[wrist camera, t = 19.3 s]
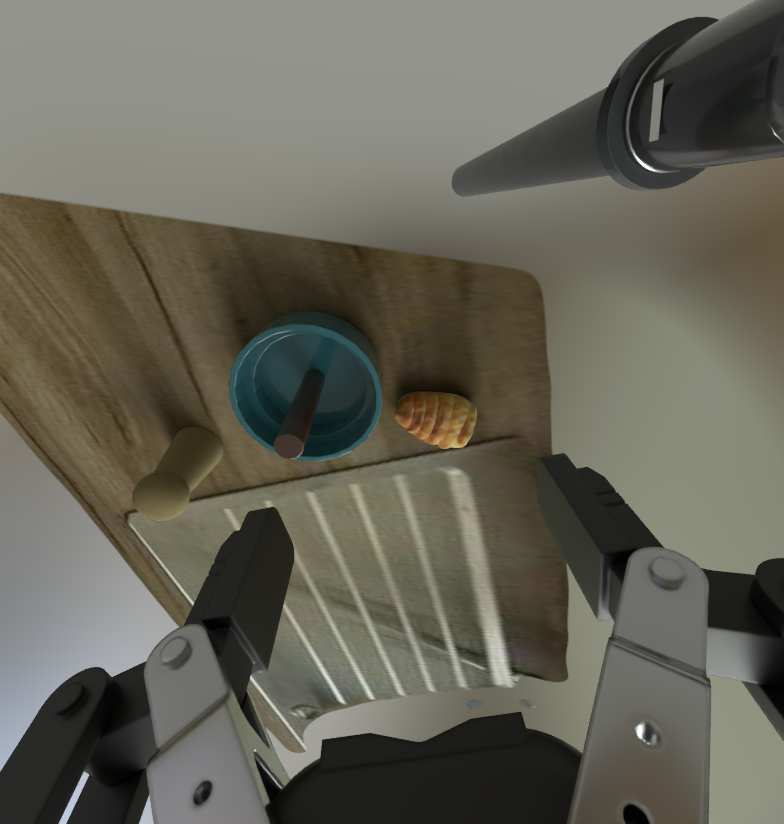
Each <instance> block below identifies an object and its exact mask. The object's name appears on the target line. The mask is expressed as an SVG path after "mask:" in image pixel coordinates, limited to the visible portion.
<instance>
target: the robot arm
mask: <svg viewBox="0 0 784 824" xmlns="http://www.w3.org/2000/svg"><path fill="white" fill-rule="evenodd" d="M623 139H624V143H625V147H626V150H627V152H628V154H629V156H630V158H631V159H632V160H633V162H634V163H635V164H636V165H638V166H639V167H640V168H642V169H643V170H646V171H648V172H651V173H658V174H663V173H672V172H677V171H681V170H686V169H694V168H702V167H710V166H717V165H724V164H732V163H740V162H747V161H755V160H763V159H769V158H778V157H784V0H755V1H753V2H751V3H749V4H747V5H746V6H744V7H742V8H740V9H739V10H737V11H735V12H733V13H731V14H730V15H728V16H726V17H725V18H722V19H721V20H719V21H717V22H715V23H713V24H712V25H709V26H708V27H706V28H704V29H702V30H700V31H699V32H697V33H695V34H693V35H691V36H689V37H686V38H684V39H682V40H680V41H678V42H676V43H674V44H673V45H671V46H669V47H667V48H666V49H664V50H663V51H662V52H660V53H659V54H658V55H657V56H656V57H655V58H654V59H653V60H652V61H651V62H650V63H649V64H648V65H647V66H646V67H645V69H644V70H643V71H642V73H641V74H640V76H639V77H638V79H637V80H636V82H635V84H634V86H633V88H632V90H631V92H630V95H629V97H628V100H627V103H626V107H625V111H624V116H623ZM536 469H537V492H538V503H539V507H540V511H541V514H542V516H543V518H544V520H545V522H546V524H547V526H548V528H549V530H550V532H551V534H552V536H553V537H554V539H555V541H556V543H557V545H558V547H559V549H560V551H561V553H562V554H563V556H564V558H565V560H566V562H567V564H568V566H569V568H570V569H571V571H572V573H573V575H574V577H575V579H576V581H577V583H578V584H579V586H580V588H581V590H582V592H583V594H584V596H585V598H586V600H587V602H588V603H589V605H590V607H591V609H592V611H593V613H594V615H595V616H596V618H597V620H598V621H603V620H609V619H613V620H614V627H613V631H612V635H611V637H609V640H608V643H607V647H606V651H605V655H604V660H603V664H602V669H601V673H600V678H599V682H598V687H597V691H596V696H595V700H594V705H593V709H592V714H591V718H590V722H589V727H588V731H587V736H586V740H585V745H584V750H583V753H581V752H580V751H579V750H577V749H576V748H574V747H573V746H571V745H569V744H568V743H566V742H564V741H562V740H561V739H558V738H556V737H554V736H552V735H550V734H547V733H544V732H541V731H537V730H532V729H527V728H526V727H525V723H524V720H523V717H522V713H521V712H517V713H510V714H502V715H495V716H488V717H480V718H474V719H470V720H468V721H466V722H463V723H461V724H459V725H457V726H455V727H453V728H451V729H449V730H447V731H445V732H443V733H441V734H439V735H437V736H435V737H433V738H430V739H428V740H427V741H423V742H414V741H409V740H403V739H398V738H392V737H387V736H382V735H377V734H372V733H367V734H360V735H353V736H346V737H339V738H331V739H324V740H322V748H321V757H320V759H318V760H316V761H314V762H313V763H311V764H310V765H308V766H307V767H305V768H304V769H303V770H301V771H300V772H299V773H298V774H297V775H295V776H294V777H293V778H292V779H291V780H290V778H289V776H288V774H287V773H286V771H285V769H284V767H283V766H282V764H281V762H280V760H279V758H278V756H277V754H276V752H275V749H274V747H273V745H272V742H271V740H270V738H269V735H268V733H267V731H266V728H265V726H264V724H263V721H262V719H261V716H260V714H259V712H258V709H257V707H256V705H255V702H254V700H253V698H252V695H251V693H250V691H249V689H248V688H247V686H248V683H249V679H250V675H251V674H253V673H259V672H266V671H267V670H268V666H269V662H270V658H271V653H272V649H273V645H274V641H275V637H276V633H277V629H278V625H279V621H280V617H281V612H282V608H283V604H284V600H285V596H286V592H287V588H288V584H289V580H290V575H291V571H292V567H293V563H294V547H293V543H292V540H291V538H290V536H289V534H288V532H287V530H286V527H285V525H284V523H283V521H282V519H281V517H280V515H279V512H278V510H277V509H276V508H275V507H270V508H265V509H260V510H254V511H250V512H248V514H247V515H246V517H245V520H244V522H243V524H242V527H241V529H240V530H238V531H234V532H233V533H232V534H231V535H230V537H229V538H228V539H227V540H226V541H225V542H224V543H223V545H222V546H221V548H220V550H219V552H218V554H217V556H216V558H215V564H213V565H212V567H211V569H210V571H209V576H208V577H207V578H206V580H205V582H204V584H203V586H202V588H201V590H200V593H199V595H198V597H197V599H196V601H195V603H194V605H193V607H192V610H191V612H190V614H189V616H188V618H187V620H186V622H185V624H184V626H182V627H180V628H177V629H176V630H174V631H172V632H171V633H169V634H168V635H167V636H166V637H164V639H162V640H161V641H160V642H159V643H158V644H157V645H156V647H155V648H154V649H153V651H152V652H151V654H150V655H149V658H148V659H147V661H146V662H144V663H142V664H139V665H137V666H135V667H133V668H131V669H129V670H127V671H124V672H122V673H120V674H118V675H116V676H114V677H111V676H110V675H109V674H108V673H107V672H106V671H105V670H104V669H102V668H100V667H93V668H89V669H85V670H83V671H81V672H79V673H77V674H75V675H74V676H72V677H71V678H69V679H68V680H67V681H65V682H64V683H63V684H62V685H60V686H59V687H58V688H57V689H56V690H55V691H54V692H53V693H52V694H51V695H50V697H49V698H48V699H47V700H46V701H45V703H44V704H43V706H42V707H41V709H40V710H39V712H38V713H37V715H36V717H35V718H34V720H33V722H32V723H31V725H30V726H29V728H28V729H27V731H26V732H25V734H24V735H23V737H22V739H21V740H20V742H19V743H18V745H17V747H16V748H15V750H14V751H13V753H12V754H11V756H10V758H9V759H8V761H7V762H6V764H5V765H4V767H3V769H2V770H1V772H0V824H59V821H60V819H61V817H62V815H63V813H64V811H65V809H66V807H67V805H68V802H69V801H70V799H71V796H72V795H73V792H74V790H75V788H76V786H77V784H78V782H79V780H80V778H81V776H82V774H83V772H84V771H85V772H86V773H88V774H89V777H88V779H87V781H86V783H85V786H84V788H83V790H82V792H81V794H80V796H79V798H78V801H77V802H76V805H75V807H74V809H73V811H72V813H71V815H70V817H69V819H68V822H67V824H139V822H140V819H141V816H142V813H143V810H144V807H145V805H146V802H147V799H148V796H149V794H150V800H151V808H152V815H153V821H154V824H708V821H709V819H708V818H709V773H710V771H709V770H710V726H711V684H710V679H709V678H708V677H707V676H706V674H707V675H712V676H718V677H723V678H729V679H734V680H740V681H742V682H743V684H744V685H745V687H746V688H747V690H748V691H749V693H750V694H751V695H752V697H753V698H754V700H755V701H756V702H757V704H758V705H759V707H760V708H761V710H762V711H763V712H764V714H765V715H766V717H767V718H768V720H769V721H770V722H771V724H772V725H773V727H774V728H775V729H776V731H777V732H778V734H779V735H780V736H781V738H782V739H783V741H784V558H776V559H770V560H767V561H764V562H762V563H761V564H760V565H759V566H758V568H757V570H756V573H755V575H750V574H740V573H731V572H721V571H712V570H707V569H702V568H700V567H699V566H698V565H697V564H696V563H695V562H694V561H692V560H691V559H689V558H688V557H686V556H684V555H683V554H680V553H678V552H676V551H673V550H670V549H665V548H664V547H663V546H662V545H661V544H660V543H659V541H658V540H657V539H656V538H655V537H654V535H653V534H652V533H651V532H650V531H649V529H648V528H647V527H646V526H645V525H644V523H643V522H642V521H641V520H640V519H639V517H638V516H637V515H636V514H635V513H634V511H633V510H632V509H631V508H630V507H629V506H628V504H625V501H624V500H623V498H622V497H621V496H620V495H619V494H618V493H616V491H615V489H614V488H613V487H612V485H610V483H609V482H608V481H607V479H606V478H605V477H604V476H602V475H600V474H599V473H597V472H595V471H594V470H592V469H590V468H588V467H584V468H579V469H577V468H576V467H575V466H574V465H573V463H572V462H571V461H570V459H569V458H568V457H567V455H566V454H564V453H562V454H556V455H551V456H546V457H540V458H537V461H536Z"/></svg>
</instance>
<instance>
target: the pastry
mask: <svg viewBox="0 0 784 824" xmlns="http://www.w3.org/2000/svg"><path fill="white" fill-rule="evenodd" d="M395 417H396V419H397V421H398V423H399V424H400V425H402V426H403V427H405V428H406V430H407V431H408V432H409V433H412V434H414V435H415V436H416V437H417V438H419V439H423V440H424V441H425V442H426V443H429V444H432V445H435V444H438V446H439V447H440V448H442V449H448V448H450V447H453V448H459V447H464V446H465V445H466V444H467V442H468V441H469V439H470V437H471V435H472V434H473V429H474V426H475V423H476V418H477V408H476V406H475V405H474V404H472V403H471V402H469V401H468V400H467V399H465V398H464V397H462V396H459V395H456V394H453V393H444V392H425V391H421V392H417V391H416V392H412V393H408V394H405V395H403V396H402V397H401V398H400V399H399V401H398V403H397V406H396V411H395Z"/></svg>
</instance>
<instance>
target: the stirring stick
mask: <svg viewBox="0 0 784 824" xmlns="http://www.w3.org/2000/svg"><path fill="white" fill-rule="evenodd" d="M324 383H325V377H324V375H323V373H322V372H320V371H318V370H315V369H312V370H309V371H307V372H306V373H305V375H304V377H303V379H302V381H301V384H300V386H299V388H298V390H297V392H296V395H295V397H294V399H293V401H292V403H291V406H290V408H289V410H288V412H287V414H286V417H285V419H284V421H283V423H282V425H281V428H280V430H279V432H278V434H277V436H276V439H275V441H274V449H275V451H276V452H277V454H279V455H280V456H281V457H284V458H287V459H293V458H296V457H298V456H300V455H301V454H302V452H303V450H304V447H305V444H306V440H307V437H308V434H309V431H310V428H311V425H312V421H313V418H314V415H315V412H316V409H317V406H318V402H319V399H320V396H321V393H322V390H323V387H324Z"/></svg>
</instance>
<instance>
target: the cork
mask: <svg viewBox="0 0 784 824" xmlns="http://www.w3.org/2000/svg"><path fill="white" fill-rule="evenodd" d="M223 453H224V449H223V445H222V443H221V441H220V439H219V438H218V437H217V436H216V435H215V434H214V433H212V432H211V431H209V430H207V429H204V428H201V427H187V428H184V429H182V430H180V431H179V432H178V433H177V434H176V436H175V437H174V439H173V441H172V443H171V444H170V446H169V448H168V449H167V451H166V453H165V454H164V456H163V458H162V460H161V461H160V463H159V465H158V466H157V468H156V470H155V471H154V473H151V474H149V475H148V476H146V477H144V478H143V479H141V480H140V481H139V482H138V484H137V485H136V487H135V488H134V491H133V496H132V500H133V504H134V507H135V508H136V509H137V511H138V512H139V513H141V514H142V515H143V516H145V517H147V518H149V519H152V520H156V521H165V520H169V519H172V518H175V517H176V516H178V515H179V514H181V513H182V512H183V511H184V509H185V508H186V506H187V505H188V503H189V499H190V492H191V491H192V490H193V489H194V488H195V487H196V486H197V485H198V484H199V483H200V482H201V481H202V479H203V478H204V477H205V476H206V475H207V474H208V473H209V472H210V471H211V470H212V469H213V468H214V467H215V466H216V465H217V464H218V463H219V461H220V460H221V459H222V457H223Z"/></svg>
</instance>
